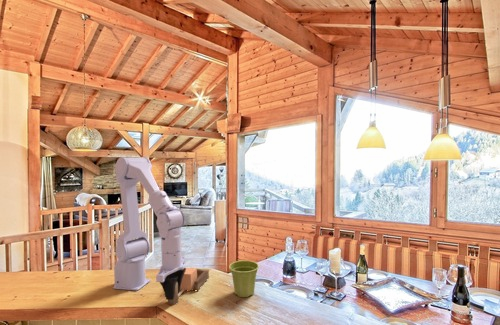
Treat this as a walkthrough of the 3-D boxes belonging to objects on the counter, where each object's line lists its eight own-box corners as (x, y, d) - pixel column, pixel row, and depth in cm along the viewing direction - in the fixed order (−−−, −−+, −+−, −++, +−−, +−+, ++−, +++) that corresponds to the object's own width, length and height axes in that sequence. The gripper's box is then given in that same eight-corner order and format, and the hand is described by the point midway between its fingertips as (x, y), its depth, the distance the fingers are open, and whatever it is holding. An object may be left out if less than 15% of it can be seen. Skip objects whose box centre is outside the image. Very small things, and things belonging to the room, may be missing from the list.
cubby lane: (171, 289, 92) (171, 280, 92) (184, 276, 102) (184, 268, 102) (198, 291, 90) (197, 281, 90) (208, 277, 100) (208, 269, 100)
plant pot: (260, 286, 92) (259, 260, 92) (258, 300, 83) (257, 271, 83) (232, 286, 93) (231, 260, 93) (227, 300, 84) (226, 271, 84)
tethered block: (162, 304, 82) (162, 283, 82) (183, 283, 96) (183, 266, 96) (178, 305, 81) (177, 285, 81) (197, 284, 95) (196, 266, 95)
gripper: (172, 259, 75) (173, 309, 75) (193, 243, 89) (194, 286, 90) (148, 258, 77) (150, 307, 77) (173, 243, 91) (174, 284, 91)
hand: (172, 296), depth 83 cm, fingers closed on tethered block, 3 cm apart
